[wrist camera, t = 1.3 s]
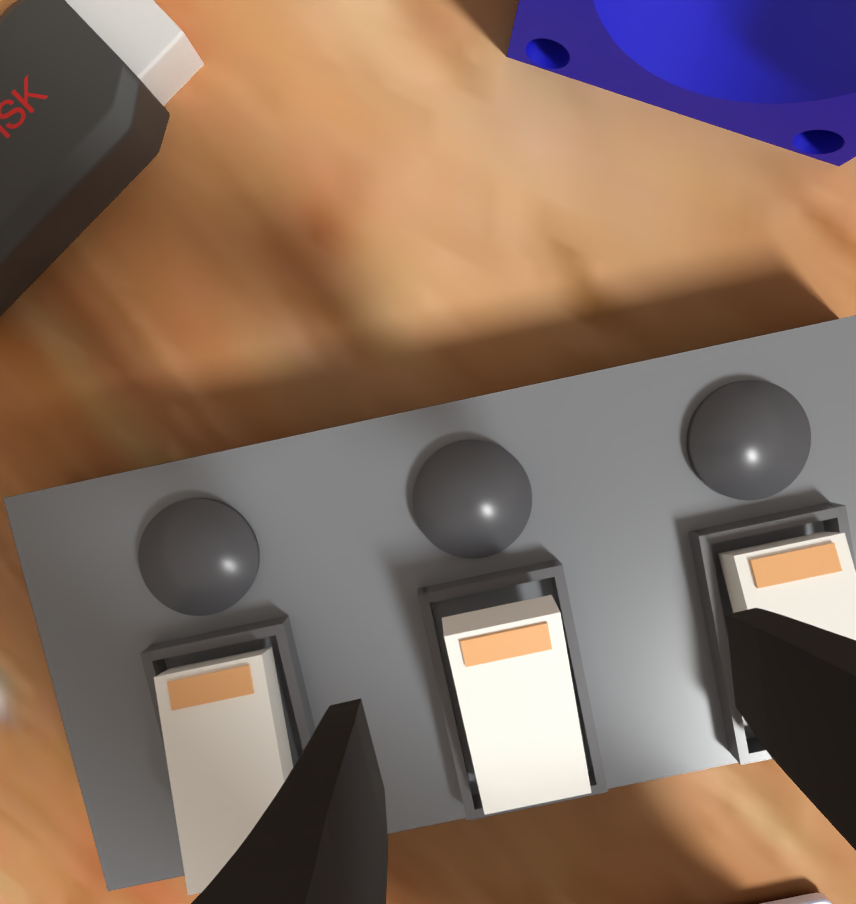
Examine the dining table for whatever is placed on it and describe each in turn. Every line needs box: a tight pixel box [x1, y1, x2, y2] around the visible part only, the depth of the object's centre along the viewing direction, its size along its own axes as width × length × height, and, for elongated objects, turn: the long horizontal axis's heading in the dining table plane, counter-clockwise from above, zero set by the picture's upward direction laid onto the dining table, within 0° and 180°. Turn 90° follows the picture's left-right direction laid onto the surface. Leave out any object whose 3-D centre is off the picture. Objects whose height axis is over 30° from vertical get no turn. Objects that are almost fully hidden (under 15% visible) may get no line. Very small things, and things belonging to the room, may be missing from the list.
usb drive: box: [0, 0, 204, 316], centre depth 19 cm, size 5×12×3 cm, turn 134°
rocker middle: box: [442, 595, 591, 815], centre depth 17 cm, size 6×3×1 cm, turn 12°
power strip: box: [3, 315, 856, 891], centre depth 20 cm, size 13×35×4 cm, turn 102°
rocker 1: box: [154, 647, 293, 895], centre depth 17 cm, size 6×3×1 cm, turn 12°
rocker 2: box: [718, 532, 856, 761], centre depth 17 cm, size 6×3×1 cm, turn 12°
